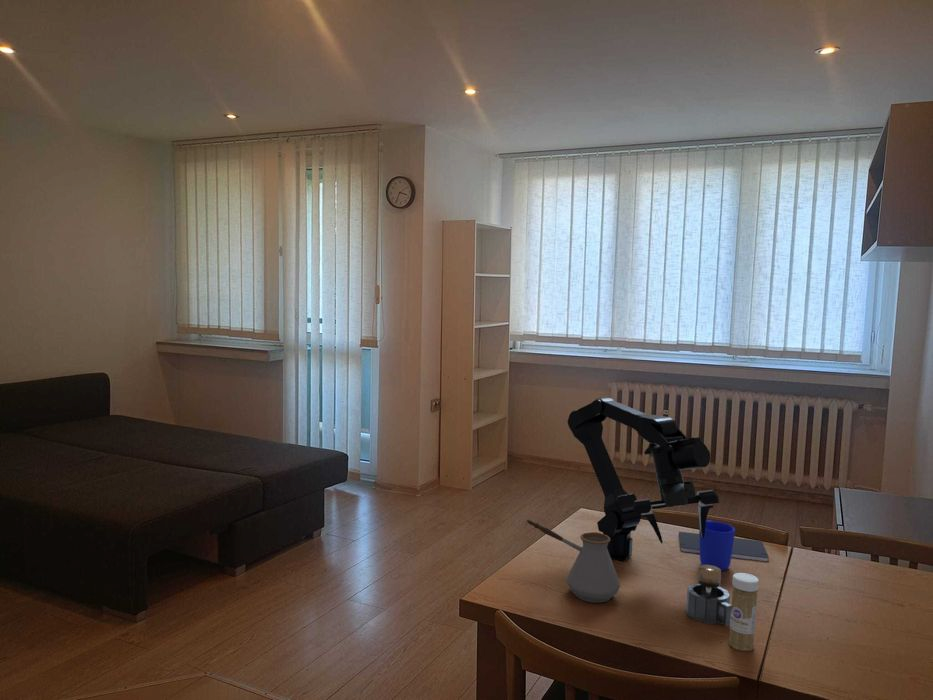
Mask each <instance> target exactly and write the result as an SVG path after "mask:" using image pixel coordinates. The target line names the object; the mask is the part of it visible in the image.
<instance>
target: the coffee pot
mask: <svg viewBox="0 0 933 700" xmlns="http://www.w3.org/2000/svg"><path fill="white" fill-rule="evenodd" d="M528 524H529V525H530V526H533V527H534V529H538V530H539V531H540V532H542V533H543V534H545V535H547V536H550V537H551V538H554V539H555V540H558V541H560V542H563V543H564V544H566V545H568V546H569V547H571V548H572V549H575V550H576V551H578V555H577V557H576V559H575V561H574V563H573V565H572V567H571V568H570V570H569V573H568V575H567V577H566V584H567V587H568V588H569V589H570V591H571V592H572V593H573V594H574V595H575V597H577V598H578V599H580V600H582V601H584V602H590V603H604V602H609V600H610V599H611V598H613V597H614V596H616V595H617V593H619V590H620V588H621V582H620V580H619V577H618V575H617V571H616V567H614V563H613V560H612V558H610V555H609V552H608V549H607V545H608V543H609V542H610V537H609V536H607V535H604V534H603V533H602V532H599V531H598V532H597V531H594V532H585V533H582V534H580V540H581V541H582V547H581V546H580V545H578V544H577V543H573V542H572V541H570V540H567V539H566V538H564V537H563V536H561V535H559V534H558V533H556V532H554V531H553V530H551V529H549V528H547V527H544V526H542V525H540V523H538V522H536V523H535V522H534V521H532V520H530V519H527V521H526V523H525V525H524V527H523V528H524V529H526V527H527V525H528Z"/></svg>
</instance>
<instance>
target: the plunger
mask: <svg viewBox="0 0 933 700" xmlns="http://www.w3.org/2000/svg"><path fill="white" fill-rule="evenodd" d="M721 580H722V570H721V569H720V568H718V567H716V566H712V565H702V564H700V565H699V566H698V572H697V583H699V584H700V585H702V586H705V587H706V597H711V588H716V587H721V582H722V581H721Z"/></svg>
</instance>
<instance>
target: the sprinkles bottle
mask: <svg viewBox="0 0 933 700" xmlns="http://www.w3.org/2000/svg"><path fill="white" fill-rule="evenodd" d="M731 585H732V597H731V600H732V601H731V605H732V609H731V617H730V625H729V639H728V645H729V646H730V647H732V648H733V649H735V650H737V651H742V652H751V651H753V650H754V648H755V644H754V643H755V633H756V621H757V620H756V618H757V617H756V616H757V605H758V603H757V600H758V591H759V588H760V587H759V586H760V580H759V578H758V577H757V576H755V575H753V574H751V573H747V572H736V573H734V574H733V575H732V582H731Z"/></svg>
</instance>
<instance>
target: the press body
mask: <svg viewBox="0 0 933 700" xmlns="http://www.w3.org/2000/svg"><path fill="white" fill-rule="evenodd" d="M686 588H687V590H686V605H685V606H686V607H685V611H686V614H687V616H689V617H690V618H691V619H693V620H695V621H697V622H700V623H702V624H703V623H704V624H708V625H710V624H711V625H719V624H722V625H723V626H725V627H727V626H730V617H731V609H732V604H730V599H731V597H730V596H731V595H730V593H729V591H728V590H727V589H725V588H723V587H722V586H719V587H716V588H711V597H706V587H705V586H702V585H700V584H699V583H698V582H697V583H691V584H689V586H687V587H686Z"/></svg>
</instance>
